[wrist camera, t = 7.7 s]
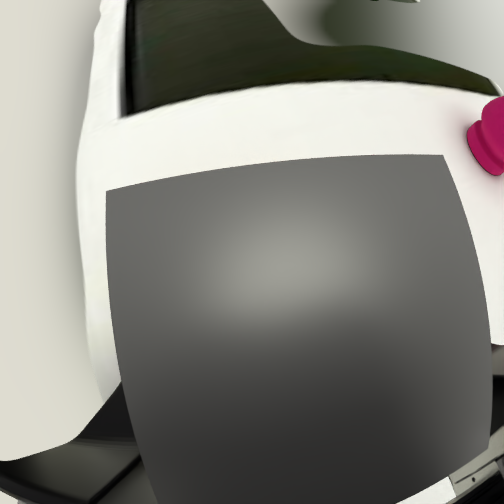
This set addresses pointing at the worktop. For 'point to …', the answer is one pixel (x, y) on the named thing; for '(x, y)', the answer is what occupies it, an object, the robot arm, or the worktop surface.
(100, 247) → the worktop surface
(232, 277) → the plug block
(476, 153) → the pepper mill
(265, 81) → the worktop surface
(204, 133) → the worktop surface
